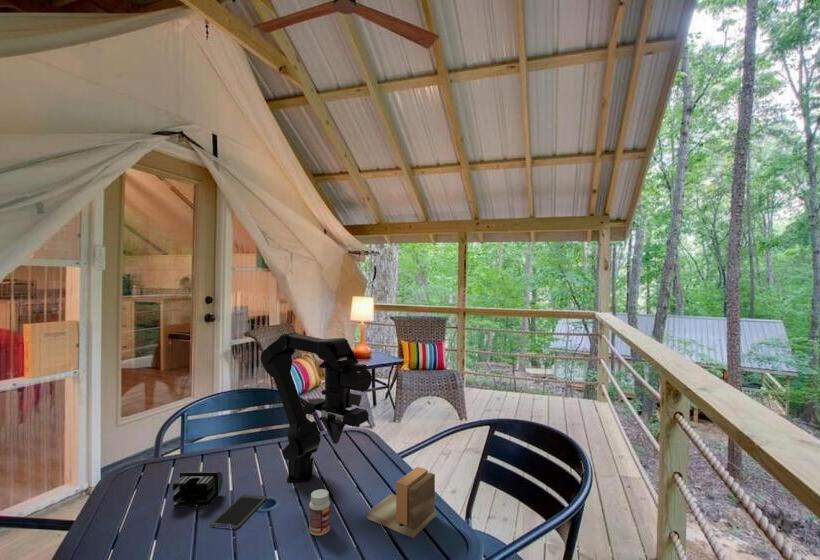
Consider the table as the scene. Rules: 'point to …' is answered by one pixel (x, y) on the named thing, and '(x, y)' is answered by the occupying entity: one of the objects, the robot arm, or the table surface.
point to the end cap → (197, 488)
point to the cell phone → (239, 511)
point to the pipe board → (418, 508)
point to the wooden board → (406, 493)
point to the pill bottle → (319, 512)
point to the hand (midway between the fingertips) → (335, 443)
